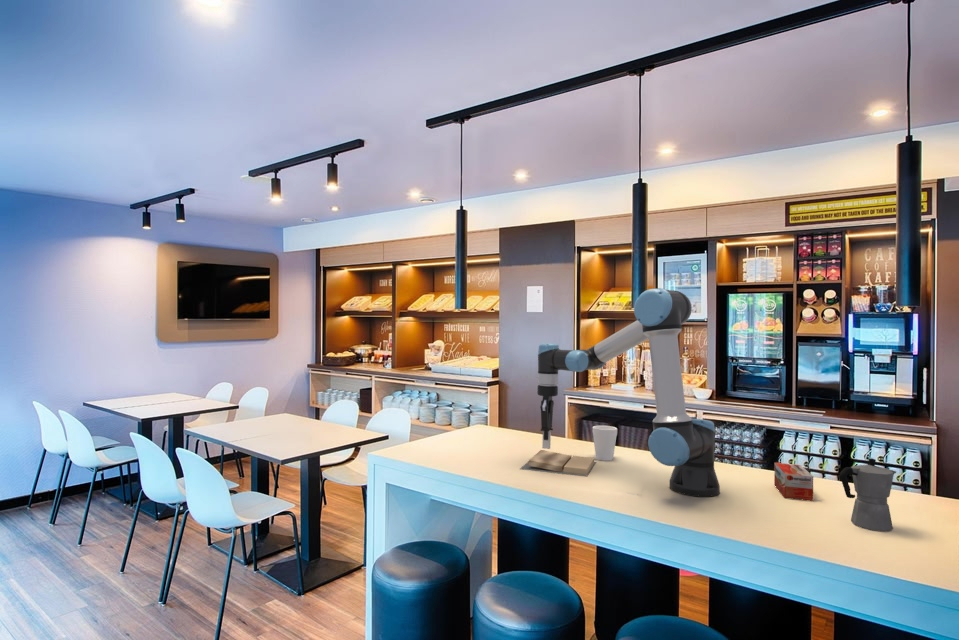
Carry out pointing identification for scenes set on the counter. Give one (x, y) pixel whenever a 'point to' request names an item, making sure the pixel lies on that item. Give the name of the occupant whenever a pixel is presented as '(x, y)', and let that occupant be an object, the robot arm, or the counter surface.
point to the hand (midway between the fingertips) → (546, 448)
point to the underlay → (570, 466)
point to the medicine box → (793, 481)
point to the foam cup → (604, 442)
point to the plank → (549, 460)
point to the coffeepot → (870, 495)
